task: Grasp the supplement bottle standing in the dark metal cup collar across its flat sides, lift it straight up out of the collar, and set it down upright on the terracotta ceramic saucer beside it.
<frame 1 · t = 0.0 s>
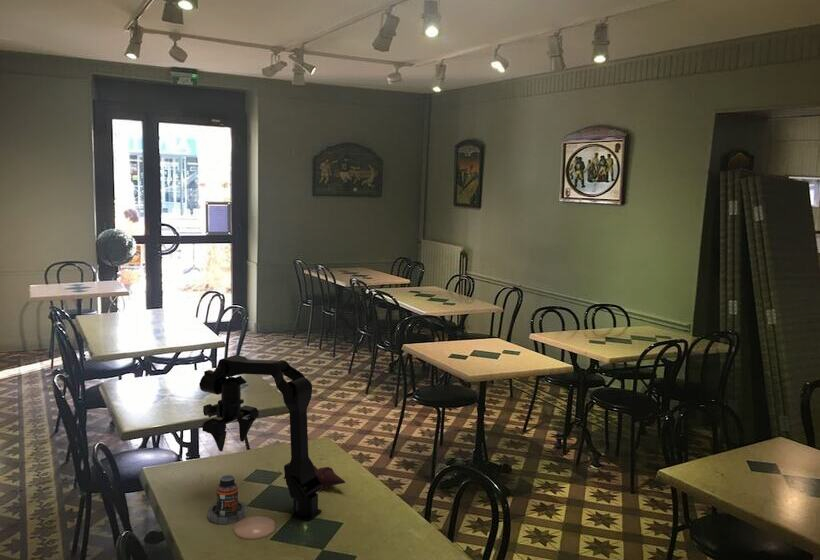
hand: (231, 446, 202), 15 cm above the table, fingers open, 9 cm apart
cup collar: (227, 515, 189), on the table
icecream: (325, 488, 208), on the table
supplement bottle: (227, 515, 189), resting in cup collar
terracotta saucer: (254, 528, 182), on the table
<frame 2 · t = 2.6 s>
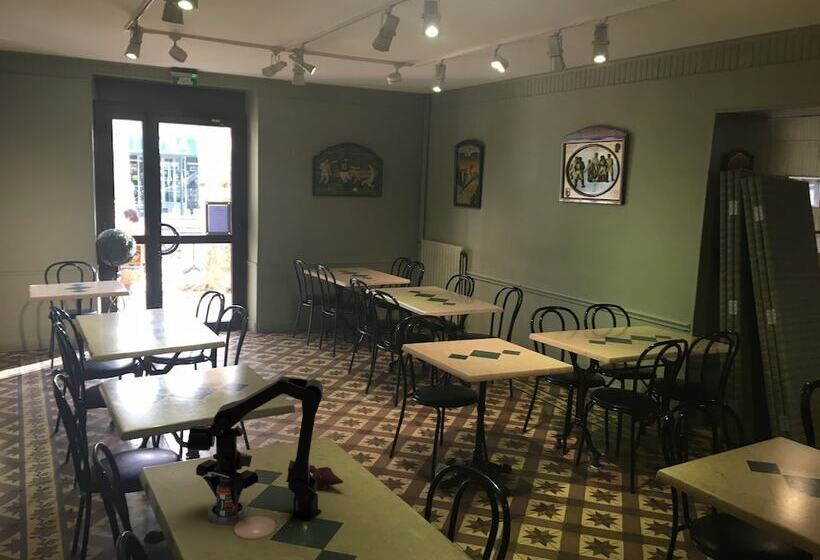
hand: (227, 501, 189), 4 cm above the table, fingers closed on supplement bottle, 6 cm apart
supplement bottle: (227, 515, 189), resting in cup collar, touching gripper
everything else where it was.
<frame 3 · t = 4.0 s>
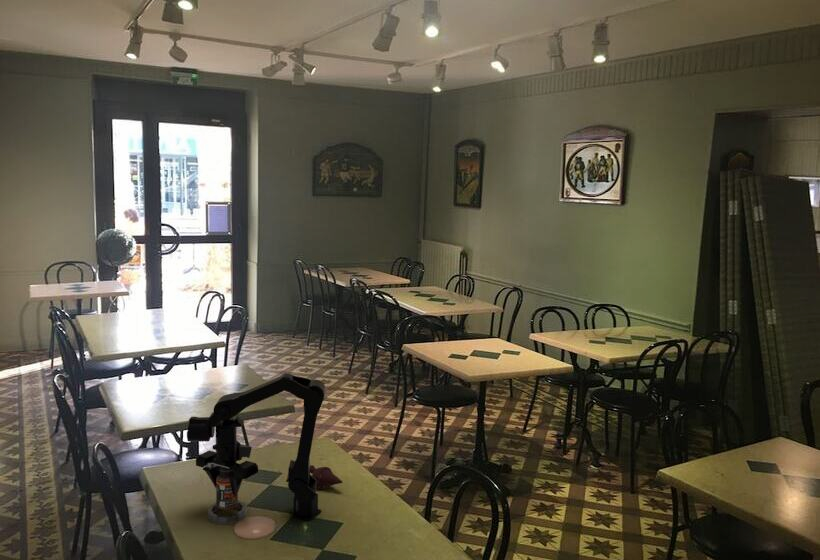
hand: (227, 492, 189), 7 cm above the table, fingers closed on supplement bottle, 6 cm apart
supplement bottle: (227, 506, 189), point 3 cm above the table, touching gripper
everything else where it was.
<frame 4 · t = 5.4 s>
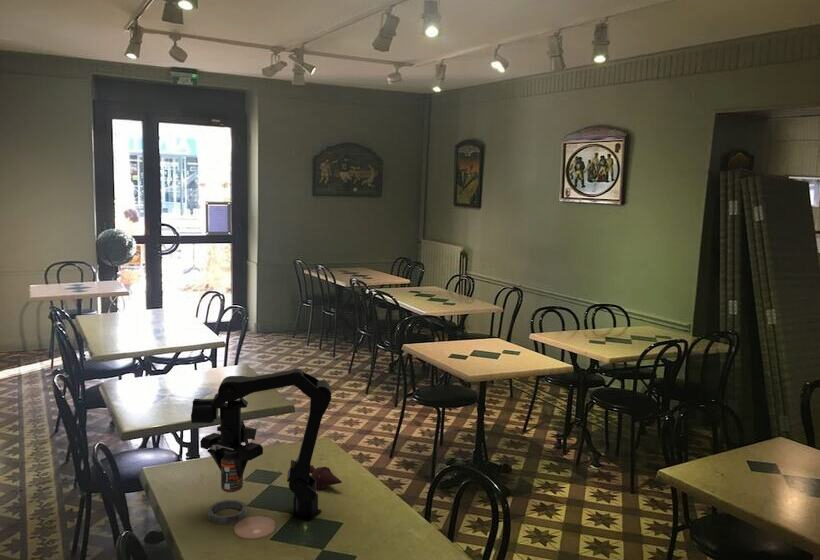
hand: (232, 474, 187), 13 cm above the table, fingers closed on supplement bottle, 6 cm apart
supplement bottle: (232, 489, 187), point 8 cm above the table, touching gripper
everything else where it was.
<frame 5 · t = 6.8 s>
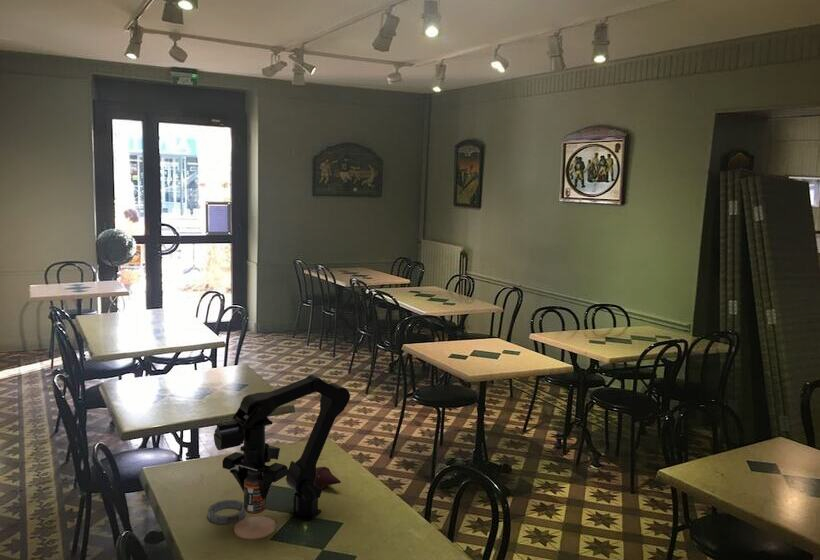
hand: (255, 496, 181), 10 cm above the table, fingers closed on supplement bottle, 6 cm apart
supplement bottle: (255, 510, 181), point 5 cm above the table, touching gripper
when the fingers open (6 cm above the table, at t = 8.2 s): supplement bottle drops 1 cm, resting on terracotta saucer.
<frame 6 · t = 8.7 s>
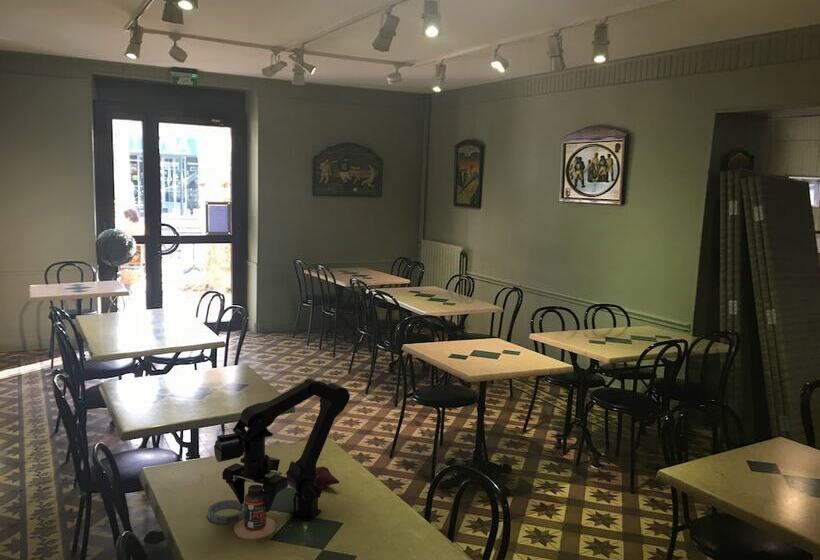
hand: (254, 507, 181), 6 cm above the table, fingers open, 9 cm apart
supplement bottle: (255, 527, 182), point 1 cm above the table, touching terracotta saucer
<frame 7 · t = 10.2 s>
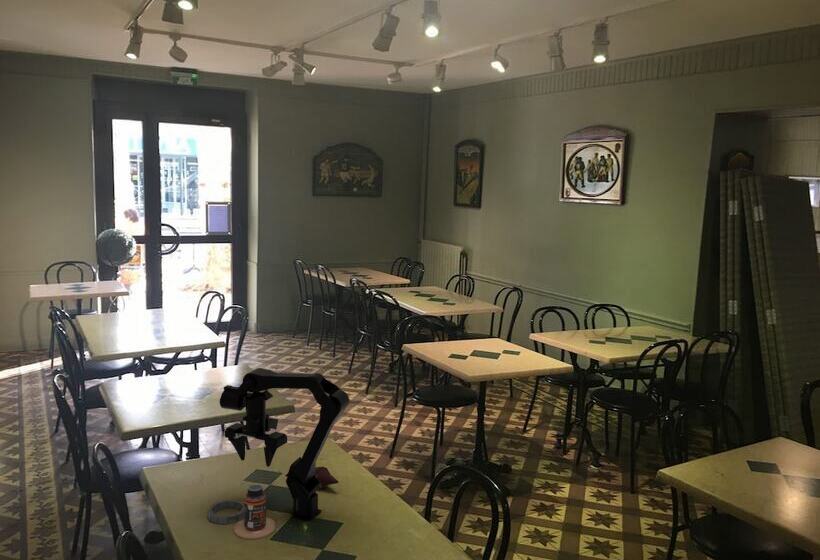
hand: (255, 463, 194), 13 cm above the table, fingers open, 9 cm apart
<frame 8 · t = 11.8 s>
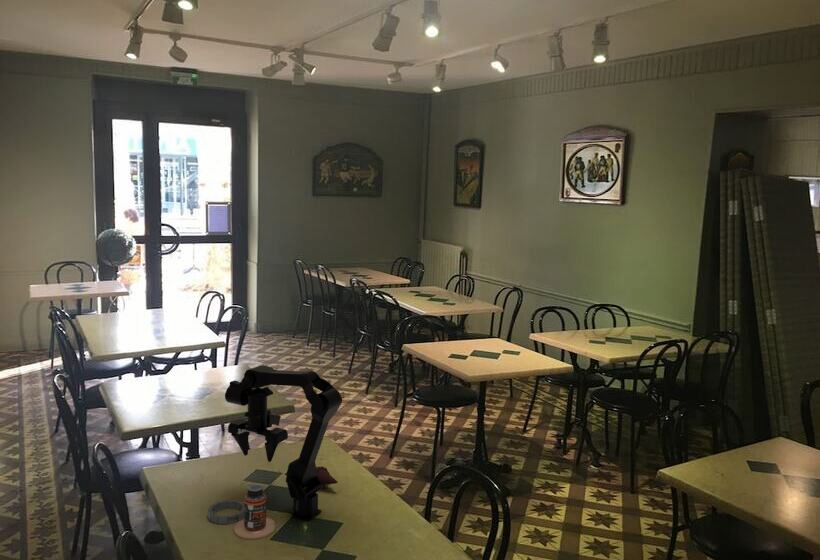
hand: (257, 458, 198), 13 cm above the table, fingers open, 9 cm apart
at the end: supplement bottle 0.1 cm off-centre on the terracotta saucer, point 0.6 cm above the terracotta saucer's base; supplement bottle tilted 0°; the gripper is holding nothing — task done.
